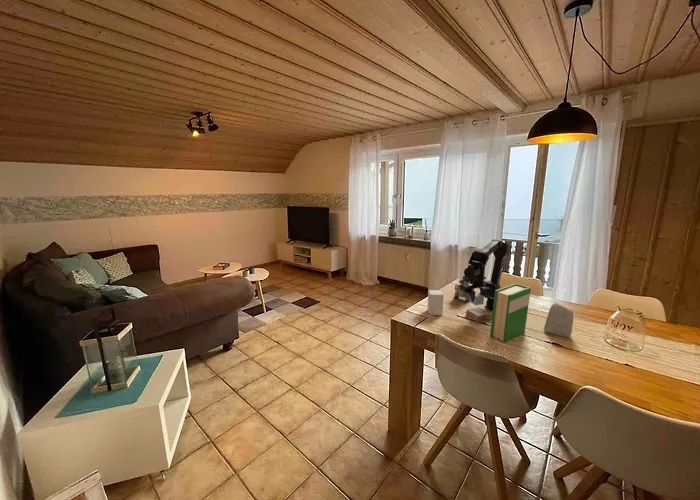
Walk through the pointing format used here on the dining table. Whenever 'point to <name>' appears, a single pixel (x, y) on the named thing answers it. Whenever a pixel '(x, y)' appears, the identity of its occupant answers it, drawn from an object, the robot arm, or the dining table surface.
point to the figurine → (460, 292)
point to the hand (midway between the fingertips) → (476, 301)
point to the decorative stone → (559, 321)
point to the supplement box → (435, 302)
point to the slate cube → (478, 299)
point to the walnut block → (478, 314)
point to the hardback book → (510, 312)
